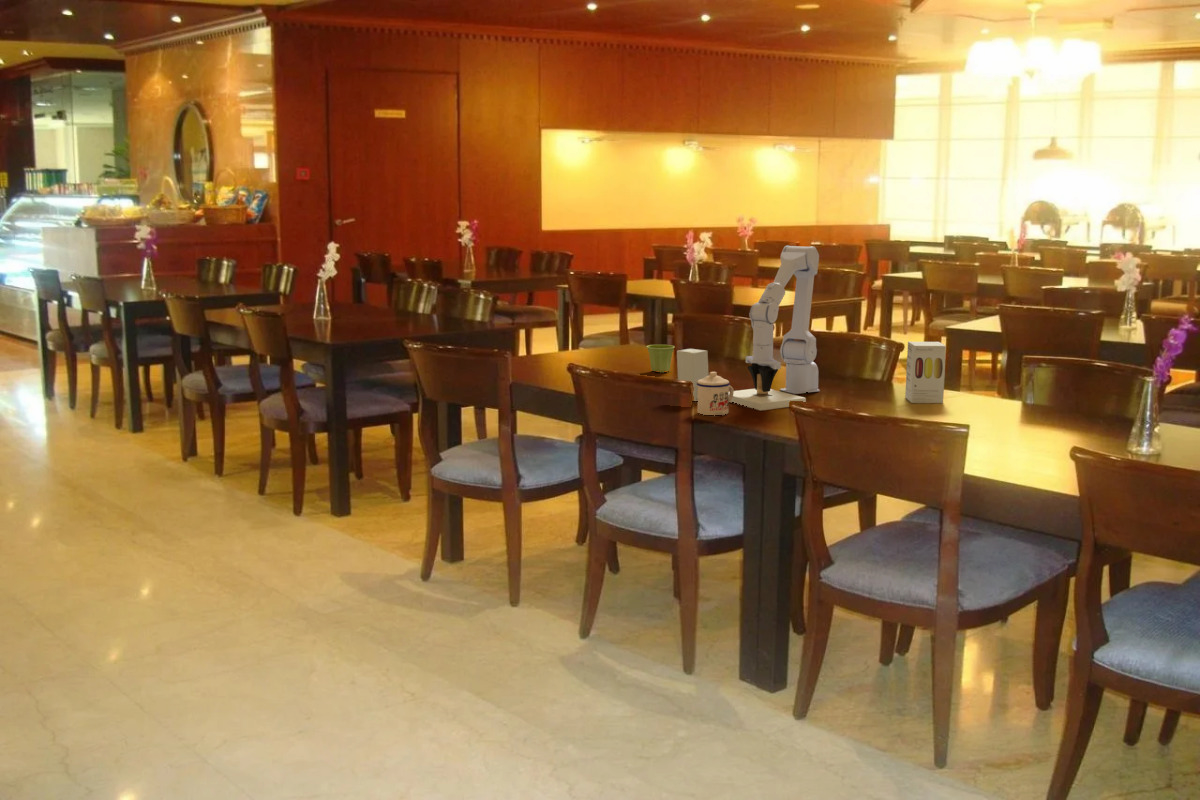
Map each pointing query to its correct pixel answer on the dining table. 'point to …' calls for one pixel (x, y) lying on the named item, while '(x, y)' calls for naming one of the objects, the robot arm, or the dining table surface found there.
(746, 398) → the board
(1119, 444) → the dining table surface
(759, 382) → the peg
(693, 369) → the skincare box
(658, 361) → the plant pot
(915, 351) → the supplement box
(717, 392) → the teacup with lid
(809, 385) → the robot arm
